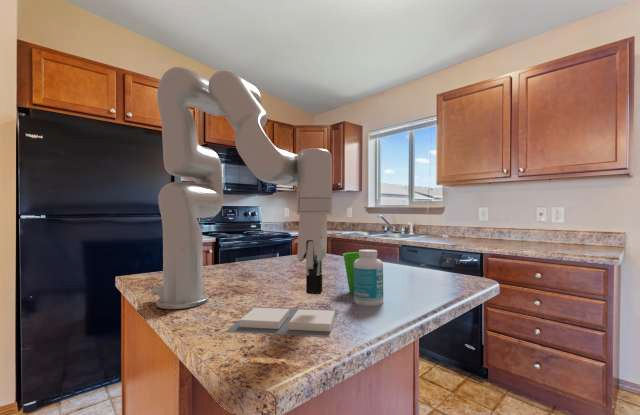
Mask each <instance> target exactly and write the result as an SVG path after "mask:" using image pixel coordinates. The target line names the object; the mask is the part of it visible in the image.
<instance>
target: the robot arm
mask: <svg viewBox="0 0 640 415" xmlns="http://www.w3.org/2000/svg"><path fill="white" fill-rule="evenodd" d="M156 94H157V95H156V100H157V106H158V112H159V115H160V116H159V117H160V121H161V122H160V123H161V138H162V140H161V141H162V155H163V156H162V158H163V167H164V169H165V171H166V172H167V173H168V174H169V175H170V176H174V177H178V178H184V179H192V180H194V182H189V181H188V182H187V181H172V182H169V183H167V184H165V185H164V186H163V187H162V188H161V189H160V191H159V193H158V198H157V201H158V209H159V213H160V215H161V216H160V218H161V224H162V226H161V227H162V261H163V262H162V277H163V278H162V285H154V286H153V287H152V289H151V290H150V295H155V296H156V295H158V296H159V298H158V299H157V300H156V302H155V303H156V304H155V305H156V307H158V308H160V309H164V310H181V309H188V308H193V307H194V308H195V307H197V306H201V305H203V304H206V303H207V302H208V301H209V299H210V295H209V294H208V293H206V292H204V290H203V289H204V288H203V286H204V284H203V282H204V281H203V280H204V276H203V272H204V270H203V269H204V268H203V266H204V265H203V261H204V260H203V258H204V257H203V231H202V228H201V225H200V224H199V221H198V219H201V218H202V219H205V218H213V217H216V216H217V215H218V214H219V213H220V212H221V210H222V208H223V204H224V188H223V187H224V186H223V166H222V162H221V158H220V156H219V155H218V153H217V152H216V151H214V150H213V149H212V148H210V147H206V146H202V145H200V144H199V141H198V130H197V129H198V128H197V123H196V121H195V119H194V116H193V114H192V113H191V111H190V109H189V107H190V108H193V109H196V110H198V111H201V112H204V113H205V114H210V115H212V116H216V117H217V116H218V117H225V119H226V120H227V121H228V123H229V124H230V126H231V128H232V129H233V130H234V141H235V142H234V143H235V148H236V150H237V153H238V155H239V157H241V158H240V159H242V161H243V163H244V164H245V165H246V166H247V168H248V169H249V171H250V172H251V173H252V174H253V175H254V176H255V177H256V179H258V180H260V181H261V182H263V183H269V184H276V185H280V186H284V187H285V186H287V187H293V186H296V214H297V215H299V220H298V230H297V231H298V234H297V256H296V257H297V258H296V259H297V261H298V262H299V263H302V262H303V261H304V260H305V262H306V264H305V268H306V271H305V272H306V276H305V277H306V280H305V282H306V283H305V285H306V286H305V290H306V294H307V295H321V293H323V260H324V258H326V256H327V251H328V250H327V249H328V218H327V217H328V215H332V214H333V160H332V159H333V157H332V154H331V152H330V151H329V150H328V149H324V148H318V147H317V148H315V147H314V148H313V147H312V148H311V147H310V148H305V149H304V148H303V149H301V150H299V152H297V153H294V152H293V153H292V152H289V151H287V150H285V149H280V148H279V147H276V145H275V144H274V143H273V142H272V141H271V139H270V138H269V137H268V136H267V134H266V133H265V131H264V129H263V128H264V127H265V126H266V124H267V121H268V115H267V113H266V111H265V109H264V108H263V107H262V96H261V93H260V91H259V90H258V88H257V87H256V86H255V85H253V84H252V83H250V82H249V81H247V80H246V79H244V77H241V76H239V75H238V74H236V73H235V72H233V71H229V70H219V71H216V72H214V73H213V74H212V75H211V76H210V78H207V77H205V76H203V75H201V74H199V73H197V72H195V71H193V70H190V69H188V68H185V67H180V66H175V67H171V68H169V69H167V70H166V71H165V72H164V73H163V74H162V76H161V78H160V80H159V82H158V87H157V92H156Z"/></svg>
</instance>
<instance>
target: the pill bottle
mask: <svg viewBox="0 0 640 415" xmlns="http://www.w3.org/2000/svg"><path fill="white" fill-rule="evenodd" d="M358 252H359V256H360V258H359V259H356V260H355V261H354V294H353V302H354V303H356V304H357V305H360V306H365V307H366V306H371V307H372V306H380V305H382V304H383V303H384V263H383V261H382V260H381V259H379V258H378V250H377V249H359V250H358Z"/></svg>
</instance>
